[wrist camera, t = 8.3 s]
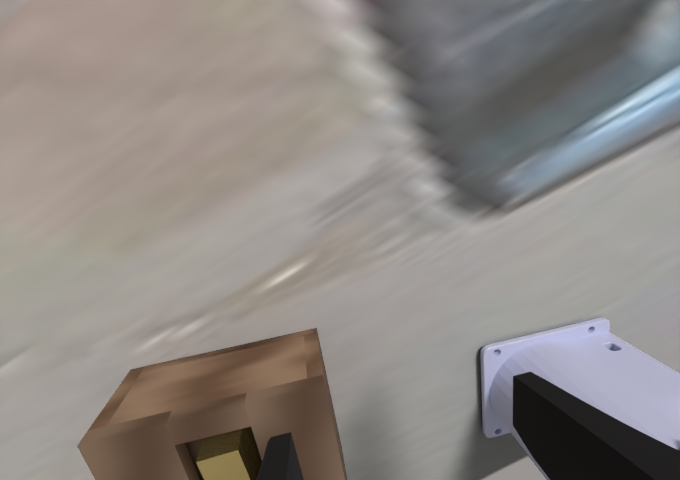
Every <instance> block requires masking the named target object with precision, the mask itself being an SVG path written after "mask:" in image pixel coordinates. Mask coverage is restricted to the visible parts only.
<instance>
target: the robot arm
mask: <svg viewBox="0 0 680 480" xmlns="http://www.w3.org/2000/svg"><path fill="white" fill-rule="evenodd" d="M609 330H610V322H609V321H608V320H607V319H605V318H597V319H593V320H589V321H585V322H581V323H577V324H572V325H568V326H564V327H560V328H556V329H552V330H547V331H543V332H539V333H535V334H531V335H527V336H523V337H518V338H514V339H510V340H506V341H502V342H498V343H494V344H489V345H486V346H484V347H483V348H482V349H481V386H482V420H483V433H484V434H485V436H486V437H487V438H493V437H497V436H501V435H504V434H508V433H512V435H513V436H514V437H515V439H516V440H517V441H518V443H519V444H520V445H521V447H522V448H523V449H524V450H525V452H526V453H527V454H528V456H529V457H530V458H531V460H532V461H533V462H534V463H535V465H536V466H537V467H538V469H539V470H540V471H541V473H542V474H543V475H544V477H545V478H546V479H547V480H680V374H679V373H678V372H676V371H674V370H673V369H671V368H669V367H667V366H666V365H664V364H662V363H661V362H659V361H657V360H656V359H654V358H652V357H651V356H649V355H647V354H645V353H644V352H642V351H640V350H639V349H637V348H635V347H634V346H632V345H630V344H628V343H627V342H625V341H623V340H622V339H620V338H618V337H617V336H615V335H613V334H612V333H610V332H609ZM495 350H496V352H494V351H495ZM256 480H304V479H303V475H302V471H301V467H300V464H299V460H298V456H297V453H296V449H295V445H294V441H293V438H292V434H291V432H289V433H285V434H281V435H277V436H274V437H271V438H270V439H269V440H268V443H267V446H266V450H265V454H264V457H263V460H262V463H261V467H260V470H259V473H258V476H257V479H256Z"/></svg>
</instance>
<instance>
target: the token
mask: <svg viewBox="0 0 680 480" xmlns="http://www.w3.org/2000/svg"><path fill="white" fill-rule="evenodd" d="M196 463H197V465H198V468H199V470H200V472H201V474H202V476H203V478H204V480H256V479H257V476H258V473H259V470H260V467H261V463H262V460H261V457H260V453H259V450H258V447H257V444H256V441H255V438H254V434H253V431H252V428H251V427H247V428H243V429H239V430H235V431H231V432H227V433H223V434H219V435H215V436H211V437H207V438H203V440H202V444H201V447H200V450H199V454H198V457H197V461H196Z"/></svg>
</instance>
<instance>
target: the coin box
mask: <svg viewBox="0 0 680 480" xmlns="http://www.w3.org/2000/svg"><path fill="white" fill-rule="evenodd" d="M247 427H251V428H252V431H253V434H254V438H255V441H256V444H257V447H258V450H259V453H260V457H261V460H263V457H264V454H265V450H266V446H267V443H268V440H269V439H270V438H271V437H274V436H277V435H281V434H285V433H289V432H291V434H292V438H293V441H294V445H295V449H296V453H297V456H298V460H299V464H300V467H301V471H302V475H303V479H304V480H347V476H346V470H345V464H344V459H343V453H342V447H341V442H340V438H339V433H338V428H337V423H336V419H335V414H334V409H333V404H332V400H331V395H330V390H329V385H328V381H327V376H326V371H325V366H324V362H323V357H322V352H321V347H320V342H319V338H318V333H317V328H315V329H311V330H306V331H302V332H297V333H293V334H288V335H284V336H279V337H275V338H270V339H266V340H262V341H257V342H253V343H248V344H244V345H239V346H235V347H230V348H226V349H221V350H217V351H212V352H208V353H203V354H199V355H194V356H190V357H186V358H181V359H177V360H172V361H168V362H163V363H159V364H154V365H150V366H145V367H141V368H136V369H132V370H130V372H129V373H128V374H127V376H126V377H125V379H124V380H123V381H122V383H121V384H120V386H119V387H118V389H117V390H116V391H115V393H114V394H113V396H112V397H111V399H110V400H109V401H108V403H107V404H106V406H105V407H104V409H103V410H102V411H101V413H100V414H99V416H98V417H97V418H96V420H95V421H94V423H93V424H92V426H91V427H90V428H89V430H88V431H87V433H86V434H85V436H84V437H83V438H82V440H81V441H80V443H79V444H78V446H77V447H78V448H79V450H80V452H81V454H82V456H83V458H84V459H85V461H86V463H87V465H88V467H89V469H90V470H91V472H92V474H93V476H94V478H95V480H204V478H203V476H202V474H201V472H200V470H199V468H198V465H197V463H196V461H197V457H198V454H199V450H200V447H201V444H202V440H203V438H207V437H211V436H215V435H219V434H223V433H227V432H231V431H235V430H239V429H243V428H247Z"/></svg>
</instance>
